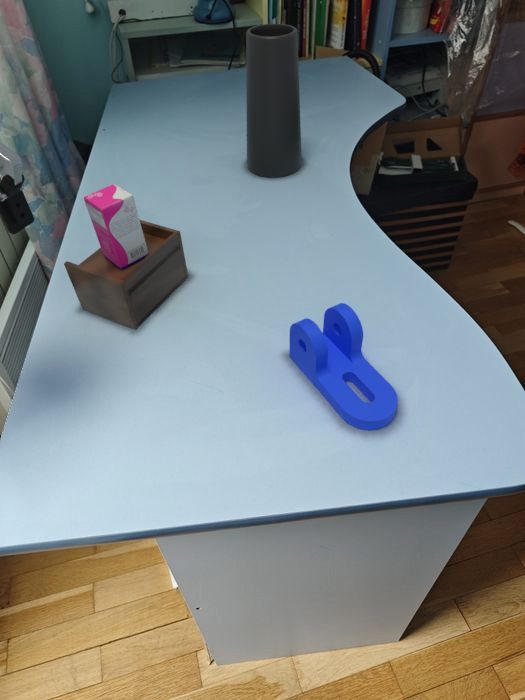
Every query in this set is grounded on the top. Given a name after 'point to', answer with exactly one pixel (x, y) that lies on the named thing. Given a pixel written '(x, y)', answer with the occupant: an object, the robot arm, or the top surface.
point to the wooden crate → (131, 279)
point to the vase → (273, 100)
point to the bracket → (342, 368)
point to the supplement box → (117, 226)
